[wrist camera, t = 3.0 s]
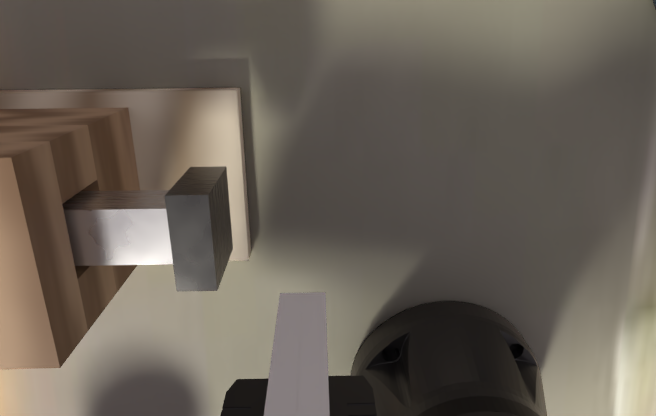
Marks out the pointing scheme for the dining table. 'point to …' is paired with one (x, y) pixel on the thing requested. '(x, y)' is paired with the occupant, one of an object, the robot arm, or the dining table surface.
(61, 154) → the block
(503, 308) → the dining table surface
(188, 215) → the shaft
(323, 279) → the dining table surface
